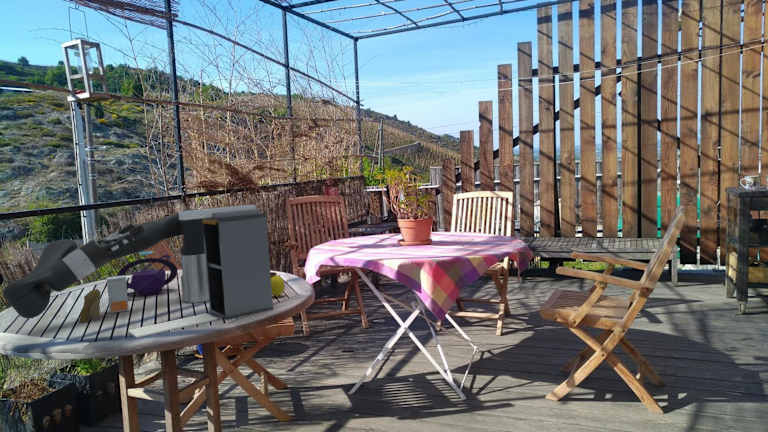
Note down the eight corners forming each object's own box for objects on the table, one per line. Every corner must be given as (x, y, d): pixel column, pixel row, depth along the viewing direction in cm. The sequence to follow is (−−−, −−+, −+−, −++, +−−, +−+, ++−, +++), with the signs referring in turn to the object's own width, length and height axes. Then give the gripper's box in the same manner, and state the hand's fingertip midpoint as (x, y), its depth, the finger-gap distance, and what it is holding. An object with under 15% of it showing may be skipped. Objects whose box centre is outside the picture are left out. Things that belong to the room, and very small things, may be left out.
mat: (136, 337, 155) (136, 336, 155) (128, 331, 162) (128, 330, 162) (217, 319, 170) (217, 318, 170) (206, 314, 177) (206, 313, 177)
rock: (87, 317, 173) (112, 305, 182) (72, 297, 174) (97, 286, 182) (74, 333, 178) (99, 321, 186) (59, 314, 178) (84, 303, 187)
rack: (225, 319, 169) (216, 214, 166) (208, 312, 180) (199, 212, 177) (273, 308, 179) (265, 209, 176) (254, 302, 190) (247, 208, 187)
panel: (183, 220, 165) (182, 212, 164) (179, 219, 168) (178, 211, 168) (256, 212, 180) (255, 205, 179) (250, 212, 183) (250, 205, 182)
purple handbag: (180, 285, 228) (175, 226, 226) (178, 295, 208) (172, 231, 206) (122, 292, 221) (116, 231, 219) (114, 303, 201) (107, 236, 199)
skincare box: (109, 313, 185) (106, 279, 184) (109, 311, 189) (106, 277, 188) (129, 310, 188) (126, 276, 187) (128, 308, 192) (125, 275, 191)
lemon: (281, 298, 193) (280, 276, 193) (267, 298, 194) (265, 276, 194) (287, 295, 199) (285, 273, 198) (273, 295, 200) (271, 273, 199)
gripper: (83, 251, 141) (138, 217, 150) (71, 246, 152) (123, 215, 161) (100, 274, 144) (153, 239, 153) (87, 268, 155) (137, 236, 164)
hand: (138, 227), depth 157 cm, fingers open, 8 cm apart
